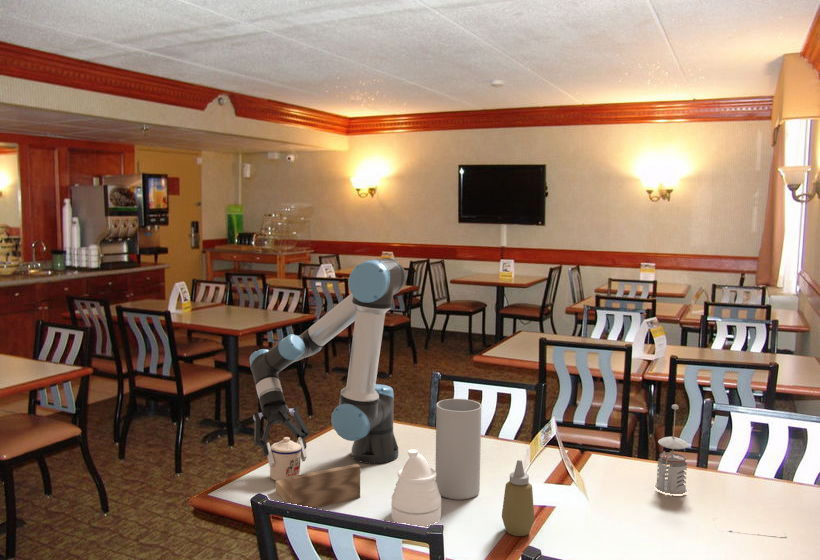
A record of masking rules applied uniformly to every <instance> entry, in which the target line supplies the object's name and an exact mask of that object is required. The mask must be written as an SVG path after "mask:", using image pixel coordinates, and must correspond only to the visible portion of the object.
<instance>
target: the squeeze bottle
mask: <svg viewBox="0 0 820 560" xmlns="http://www.w3.org/2000/svg"><path fill="white" fill-rule="evenodd" d="M529 480H530V478H529V474H528V473H526V472H525V470H524V464H523V460H521V459H518V460H517V461H516V463H515V467H514V471H512V472H511V473H510V474H509V481H508V482H506V483H505V487H504V495H503V502H502V504H503V505H502V511H501V519H502V522H503V526H504V529H505V532H506V533H508V534H509V535H512V536H515V537H524V536H527V535H529V534H530V532H531V529H532V526H533V525H534V523H535V519H536V518H535V509H534V506H535V505H534V494H533V486H532V484H531V483H530V482H529Z"/></svg>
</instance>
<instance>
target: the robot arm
mask: <svg viewBox="0 0 820 560" xmlns="http://www.w3.org/2000/svg"><path fill="white" fill-rule="evenodd" d="M406 276H407V275H406V271H405V268H404V267H403V265H402V264H401V263H400V262H399V261H397V260H396V259H394V258H391V257H384V258H383V257H382V258H377V259H367V260H364V261H361V262H360V263H359V264H357V265H356V266H354V268H352V271H351V272H350V274H349V277H348V288H349V289H348V290H349V291H350V292H351V293H350V294H349V295H347V296H346V297H345V298H344V299H343V300H342V301H340V302H339V303H338V304H336V305H335V306H334V307H333V308H332V309H330V310H328V312H326V313H325V314H324V315H323V316H322V317H320V318H319V319H318V320H317V321H316V322H315V323H313V324H312V325H311V326H310V327H309V328H307V329H305V330H304V332H302V333H300V335H297V334H293V333H292V334H288V335H287V336H285V337H284V338H282V339H281V340H280V341H278V343H276V344H275V345H274V346H272V347H271V349H268V348H267V349H266V348H262V349H258V350H257V351H256V350H255V351H254V352H252V353H251V354H250V356H249V365H250V371H251V374H252V377H253V381H254V383H255V385H254V386H255V389H256V394H257V396H258V402H259V404H260V405H259V406H260V409H261V412H257V411H255V412H254V414H253V416H252V420H253V423H254V435H253V436H254V437H253V438H254V439H253V441H254V442H253V446H255V447H258V446H259V447H260V448H261V450H262V453H263V457H267V461H268V465H269V468H270V467H273V465H274V459H273V455H272V451H271V445H270V442H267V441H268V438H269V434H270V430H271V428H272V427H271V426H272V425H277V424H283V426H285V427H286V428H287V429H288V430H289V431H290V432H291V433H292V435H294V436H295V438H296V439H297V440H296V443H298V444H300V445H301V448H302V450H301V458H300V460H301V462H302V463H303V462H305V461H306V459H307V458H308V456H307V453H306V452H307V451H306V449H307V443H306V439H307V438H308V436H309V434H310V431H309V429H308V427H307V426H306V424H305V422H304V420H303V418H302V416H301V415H300V412H299V408H298V406H294V407H293V408H289V407H288V405H287V403H286V399H285V395H284V393H283V388H282V385H281V380H280V377H279V373H281V372H282V371H283V370H284V369H286V368H287V367H288V366H290V365H292V364H293V363H295V362H299V361H301V360H303V359H305V358H308V357H312V356H315V355H316V354H318V353H319V352H320V351H321V350H322V348H323V346H325V345H326V344H327V343H328V342H330V341H331V340H332V339H334V338H335V337H336V336H337V335H339V334H341V332H342V331H344V330H345V329H346V328H348V327H349V326H350V325H352V324H353V323H354V326H353V334H352V342H351V349H350V355H349V364H348V372H347V379H346V386H345V387H343V388H342V389H341V390H340V393H339V401H338V405H337V406H336V407H335V408H334V409H333V411H332V413H331V418H330V419H331V420H330V421H331V426H332V427H333V430H334V431H335V432H336V434H337V435H338V436H339V437H341V438H342V439H343V440H345V441H349V442H350V441H351V442H353V443H352V447H351V458H352V459H353V460H355V461H357V462H358V463H359V462H360V463H365V464H385V463H389V462H392V461H394V460H396V459H398V458H399V447H398V444H397V439H396V436H395V433H394V407H395V406H394V405H395V403H394V399H395V396H394V389H393V388H392V387H391V386H389V385H386V384H380V383H379V384H378V383H377V375H378V371H379V369H378V368H379V360H380V356H381V355H380V354H381V347H382V340H383V332H384V326H385V318H386V313H387V312H388V311H389V310H391V309H392V305H393V298H394V295H396V294H398V293H399V292H400V291H401V290H403V288H404V286H405V283H406ZM288 414H290V416H291V417H292V418H293V420H294V422H295V423H294V422H293V420H292V419H291V417H290V416H289V415H288ZM262 418H263V419H265V421H266V425H265V429H264V432H263V436H262V437H261V420H262ZM261 438H262V439H261Z"/></svg>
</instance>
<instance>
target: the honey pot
mask: <svg viewBox="0 0 820 560" xmlns="http://www.w3.org/2000/svg"><path fill="white" fill-rule="evenodd" d="M407 454H408V459H407V461H406V462H405V464H404V465H403V467H402V468H400V469H399V470H398V471H397V477H398V479H397V481H396V483H395V487H394V489H393V493H392V495H391V515H390V516H391V520H392V521H393V520H394V521H393V522H394V523H396V522H398V523H406V524H410V525H417V526H427V525H428V526H429V525H430V524H434V523H435V522H438V521H439V520H440V521H441V519H442V496H441V495H440V493H439V490H438V487H437V483H436V482H435V478H436V475H437V474H436V472H435V469H433V468H431V466H430V464H429V463H428V461H427V460H426V458H425V456H424V455H422V454H420V453H419V451H418V450H417V449H409V450H407ZM440 518H441V519H440ZM440 521H439V522H440ZM439 522H438V523H439ZM429 527H430V526H429Z"/></svg>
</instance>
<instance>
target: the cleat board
mask: <svg viewBox="0 0 820 560" xmlns="http://www.w3.org/2000/svg"><path fill="white" fill-rule="evenodd" d="M275 492H276V493H277V494H278V496H281V497H282V498H283V499H284V500H285V501H284V500H283V499H282V498H281V497H280V498H281V499H282V500H283V501H284V503H286V502H287V503H291V504H297V505H302V506H308V507H315V508H319V507H323V506H324V507H325V506H330V505H333V504H338V503H342V502H347V501H352V500H356V499H360V498H361V465H359V464H358V463H353V464H348V465H343V466H337V467H333V468H328V469H323V470H317V471H312V472H308V473H307V472H306V473H300V475H295V476H291V478H288V479H283V480H278V481H276V480H275ZM287 503H286V504H287ZM315 508H314V509H315Z"/></svg>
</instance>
